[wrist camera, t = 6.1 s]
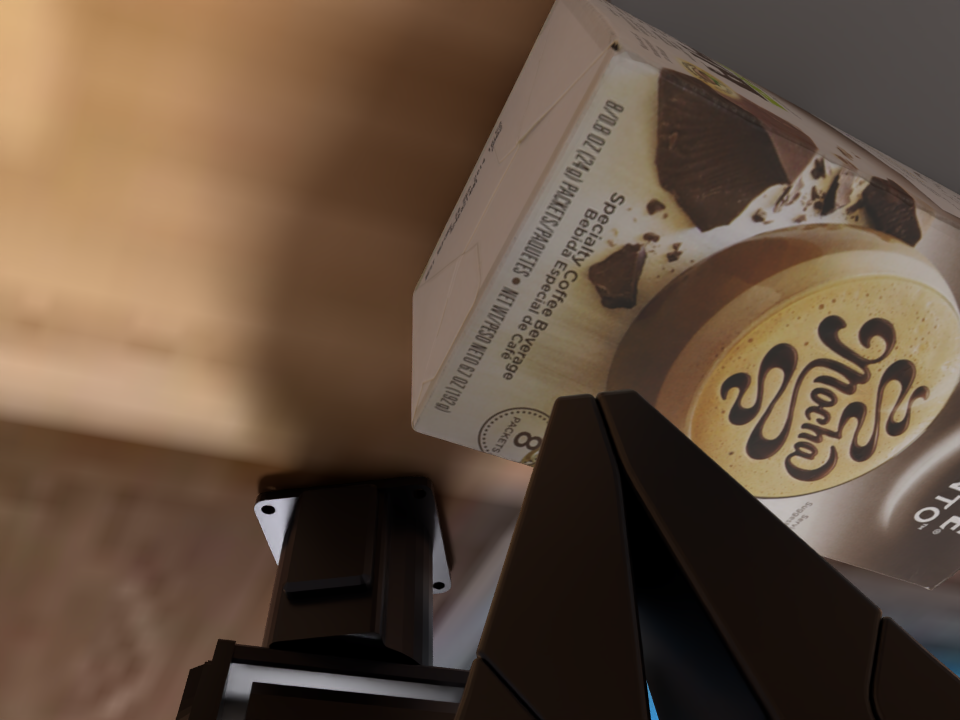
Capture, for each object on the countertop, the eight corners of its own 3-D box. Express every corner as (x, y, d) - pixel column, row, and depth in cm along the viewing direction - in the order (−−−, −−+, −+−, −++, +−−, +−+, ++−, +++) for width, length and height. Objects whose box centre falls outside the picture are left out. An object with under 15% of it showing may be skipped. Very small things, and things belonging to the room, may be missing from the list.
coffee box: (621, 38, 11) (1247, 359, 16) (559, -28, 17) (1046, 229, 21) (404, 445, 16) (939, 602, 21) (409, 293, 21) (836, 446, 26)
